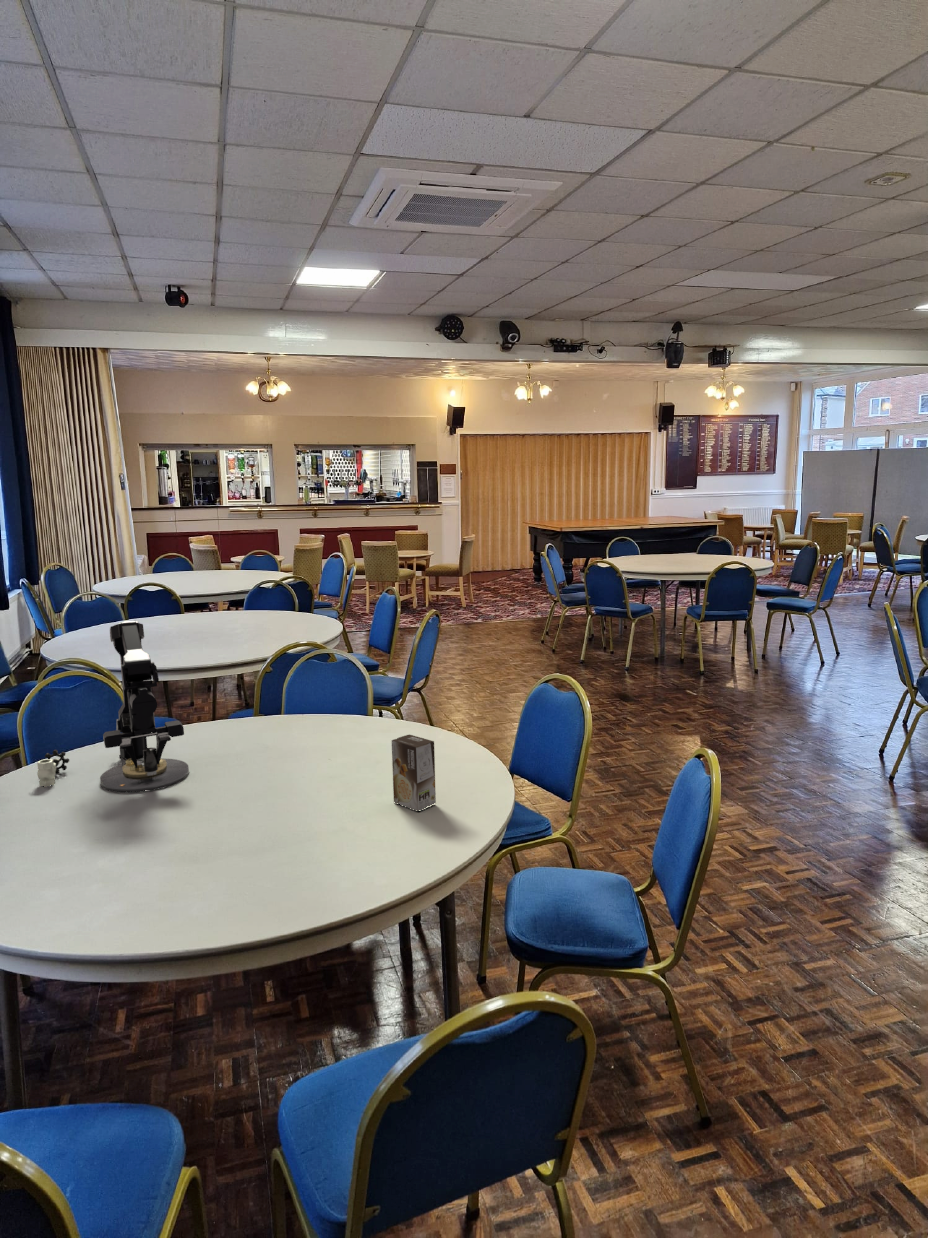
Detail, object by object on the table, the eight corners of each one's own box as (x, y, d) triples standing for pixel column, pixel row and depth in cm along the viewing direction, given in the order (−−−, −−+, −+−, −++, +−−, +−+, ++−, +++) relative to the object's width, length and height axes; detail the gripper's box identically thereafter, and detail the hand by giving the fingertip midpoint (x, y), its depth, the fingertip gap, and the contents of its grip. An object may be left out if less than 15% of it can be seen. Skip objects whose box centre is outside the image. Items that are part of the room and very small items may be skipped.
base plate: (162, 758, 226) (161, 752, 225) (204, 774, 212) (204, 768, 211) (85, 779, 209) (84, 773, 209) (126, 799, 195) (125, 792, 195)
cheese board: (162, 761, 217) (159, 732, 216) (175, 778, 204) (173, 747, 203) (119, 768, 212) (117, 739, 210) (130, 786, 198) (127, 755, 197)
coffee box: (437, 805, 189) (436, 741, 186) (418, 813, 184) (416, 747, 182) (411, 795, 195) (409, 733, 192) (392, 803, 190) (390, 739, 188)
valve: (59, 786, 204) (70, 771, 216) (56, 762, 203) (68, 748, 215) (31, 789, 203) (44, 773, 214) (29, 764, 202) (42, 750, 213)
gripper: (174, 694, 210) (180, 750, 213) (98, 706, 202) (105, 763, 204) (181, 704, 201) (187, 762, 203) (101, 716, 192) (108, 776, 195)
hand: (147, 765), depth 202 cm, fingers open, 5 cm apart
